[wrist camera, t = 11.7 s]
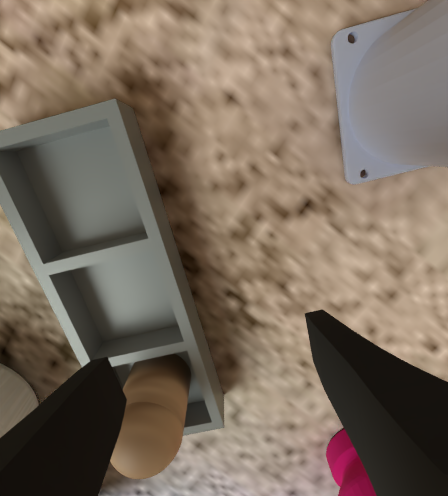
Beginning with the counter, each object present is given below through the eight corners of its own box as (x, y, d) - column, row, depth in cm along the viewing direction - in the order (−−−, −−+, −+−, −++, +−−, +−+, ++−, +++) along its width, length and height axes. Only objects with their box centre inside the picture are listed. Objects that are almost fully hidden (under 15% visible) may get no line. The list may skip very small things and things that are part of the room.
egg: (176, 342, 20) (154, 429, 14) (200, 388, 21) (191, 486, 15) (120, 361, 20) (75, 453, 14) (147, 405, 22) (117, 507, 15)
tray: (133, 108, 16) (115, 98, 13) (223, 395, 22) (224, 427, 20) (8, 142, 16) (-32, 139, 14) (133, 413, 23) (122, 447, 20)
